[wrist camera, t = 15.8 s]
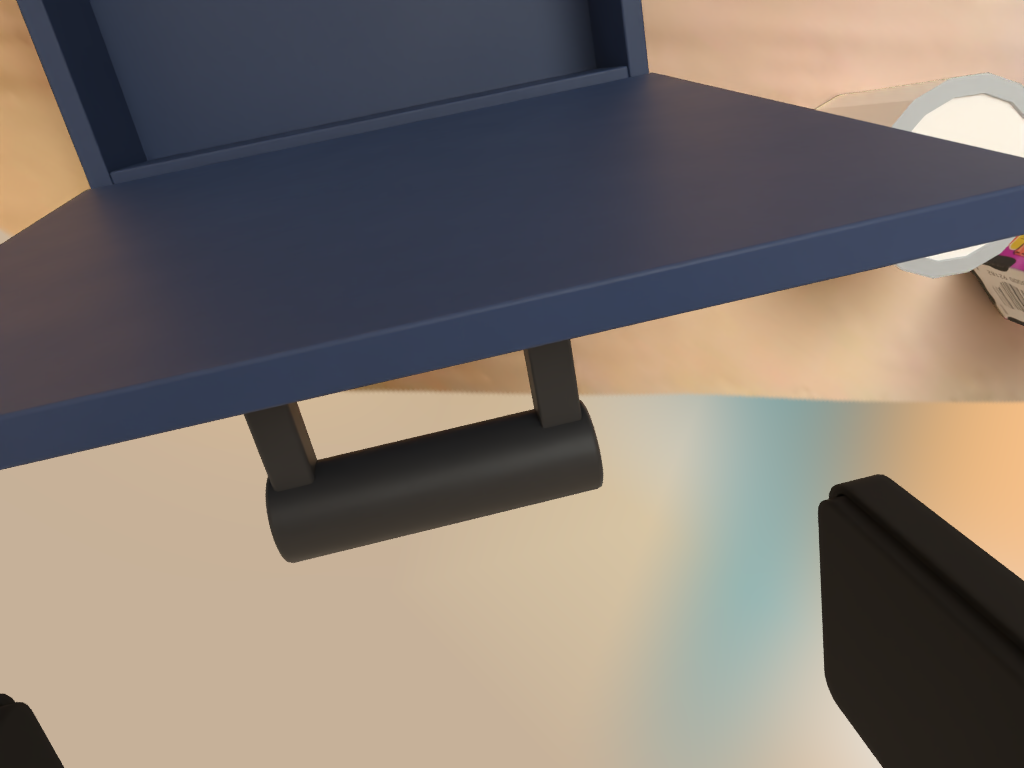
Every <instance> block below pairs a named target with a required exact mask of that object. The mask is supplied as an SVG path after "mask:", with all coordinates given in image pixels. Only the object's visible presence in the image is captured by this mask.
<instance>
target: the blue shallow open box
mask: <svg viewBox="0 0 1024 768" xmlns="http://www.w3.org/2000/svg"><path fill="white" fill-rule="evenodd" d="M16 1H17V3H18V6H19V8H20V11H21V13H22V16H23V18H24V21H25V23H26V26H27V28H28V31H29V33H30V36H31V38H32V41H33V44H34V46H35V49H36V51H37V54H38V56H39V59H40V61H41V64H42V66H43V69H44V71H45V74H46V76H47V79H48V81H49V84H50V86H51V89H52V91H53V94H54V96H55V99H56V102H57V104H58V107H59V109H60V112H61V114H62V117H63V119H64V122H65V124H66V127H67V129H68V132H69V134H70V137H71V139H72V142H73V144H74V147H75V149H76V152H77V155H78V157H79V160H80V162H81V165H82V167H83V170H84V172H85V175H86V177H87V180H88V182H89V185H90V187H91V189H93V188H98V187H103V186H108V185H113V184H118V183H122V182H127V181H132V180H137V179H142V178H147V177H151V176H156V175H161V174H166V173H171V172H176V171H180V170H185V169H190V168H195V167H200V166H204V165H209V164H214V163H219V162H224V161H229V160H233V159H238V158H243V157H248V156H253V155H258V154H262V153H267V152H272V151H277V150H282V149H287V148H291V147H296V146H301V145H306V144H311V143H316V142H320V141H325V140H330V139H335V138H340V137H345V136H349V135H354V134H359V133H364V132H369V131H373V130H378V129H383V128H388V127H393V126H398V125H402V124H407V123H412V122H417V121H422V120H427V119H431V118H436V117H441V116H446V115H451V114H456V113H460V112H465V111H470V110H475V109H480V108H485V107H489V106H494V105H499V104H504V103H509V102H514V101H518V100H523V99H528V98H533V97H538V96H542V95H547V94H552V93H557V92H562V91H567V90H571V89H576V88H581V87H586V86H591V85H596V84H600V83H605V82H610V81H615V80H620V79H625V78H629V77H634V76H639V75H644V74H649V68H648V59H647V50H646V41H645V31H644V22H643V13H642V3H641V0H16Z"/></svg>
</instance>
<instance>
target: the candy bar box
mask: <svg viewBox="0 0 1024 768" xmlns="http://www.w3.org/2000/svg"><path fill="white" fill-rule="evenodd" d="M971 272H972V273H973V274H974V275H975V276H976V277H977V279H978V281H979V282H980V284H981V285H982V287H983V288H984V290H985V291H986V293H987V294H988V296H989V298H990V299H991V301H992V303H993V304H994V305H995V307H996V308H997V309H998V310H999V312H1000V313H1001V315H1002V316H1003V317H1004V318H1006V319H1008V320H1010V321H1013V322H1015V323H1018V324H1021V325H1023V326H1024V235H1020V236H1016V237H1015V238H1014V239H1013V240H1012V242H1011V243H1010V244H1009V245H1008V246H1007V247H1006V248H1005V249H1004V250H1003V251H1002V252H1001V253H1000V254H999V255H997V256H995V257H993V258H992V259H990V260H988V261H986V262H985V263H983V264H981V265H980V266H978V267H976V268H974V269H973V270H971Z"/></svg>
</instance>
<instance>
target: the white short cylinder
mask: <svg viewBox="0 0 1024 768" xmlns="http://www.w3.org/2000/svg"><path fill="white" fill-rule="evenodd" d="M815 110H818V111H822V112H827V113H831V114H835V115H840V116H844V117H849V118H853V119H857V120H862V121H866V122H870V123H875V124H879V125H884V126H888V127H892V128H897V129H901V130H905V131H910V132H914V133H919V134H923V135H927V136H932V137H936V138H940V139H945V140H949V141H953V142H958V143H962V144H967V145H971V146H975V147H980V148H984V149H988V150H993V151H997V152H1002V153H1006V154H1010V155H1015V156H1019V157H1023V158H1024V87H1023V85H1022V84H1020V83H1017V82H1014V81H1011V80H1009V79H1006V78H1003V77H1000V76H997V75H994V74H991V73H981V74H975V75H968V76H961V77H955V78H948V79H941V80H935V81H928V82H922V83H915V84H909V85H902V86H895V87H889V88H882V89H876V90H869V91H863V92H856V93H850V94H843V95H838V96H836V97H835V98H833V99H831V100H830V101H828V102H826V103H825V104H823V105H821V106H820V107H818V108H816V109H815ZM1014 238H1015V237H1012V238H1007V239H1003V240H999V241H994V242H990V243H985V244H981V245H977V246H972V247H968V248H964V249H959V250H955V251H951V252H946V253H942V254H938V255H933V256H929V257H925V258H920V259H916V260H912V261H907V262H903V263H898V264H894V265H893V266H895V267H897V268H899V269H901V270H903V271H907V272H911V273H914V274H918V275H922V276H926V277H929V278H939V277H944V276H950V275H956V274H962V273H967V272H969V271H971V270H973V269H974V268H976V267H978V266H980V265H981V264H983V263H985V262H986V261H988V260H990V259H992V258H993V257H995V256H997V255H999V254H1000V253H1001V252H1002V251H1003V250H1004V249H1005V248H1006V247H1007V246H1008V245H1009V244H1010V243H1011V242H1012V240H1013V239H1014Z"/></svg>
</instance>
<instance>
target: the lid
mask: <svg viewBox="0 0 1024 768" xmlns="http://www.w3.org/2000/svg"><path fill="white" fill-rule="evenodd" d="M1020 235H1024V158H1023V157H1019V156H1015V155H1010V154H1006V153H1002V152H997V151H993V150H988V149H984V148H980V147H975V146H971V145H967V144H962V143H958V142H953V141H949V140H945V139H940V138H936V137H932V136H927V135H923V134H919V133H914V132H910V131H905V130H901V129H897V128H892V127H888V126H884V125H879V124H875V123H870V122H866V121H862V120H857V119H853V118H849V117H844V116H840V115H835V114H831V113H827V112H822V111H818V110H814V109H809V108H805V107H800V106H796V105H792V104H787V103H783V102H779V101H774V100H770V99H765V98H761V97H757V96H752V95H748V94H744V93H739V92H735V91H730V90H726V89H722V88H717V87H713V86H709V85H704V84H700V83H695V82H691V81H687V80H682V79H678V78H674V77H669V76H665V75H660V74H656V73H649V74H644V75H639V76H634V77H629V78H625V79H620V80H615V81H610V82H605V83H600V84H596V85H591V86H586V87H581V88H576V89H571V90H567V91H562V92H557V93H552V94H547V95H542V96H538V97H533V98H528V99H523V100H518V101H514V102H509V103H504V104H499V105H494V106H489V107H485V108H480V109H475V110H470V111H465V112H460V113H456V114H451V115H446V116H441V117H436V118H431V119H427V120H422V121H417V122H412V123H407V124H402V125H398V126H393V127H388V128H383V129H378V130H373V131H369V132H364V133H359V134H354V135H349V136H345V137H340V138H335V139H330V140H325V141H320V142H316V143H311V144H306V145H301V146H296V147H291V148H287V149H282V150H277V151H272V152H267V153H262V154H258V155H253V156H248V157H243V158H238V159H233V160H229V161H224V162H219V163H214V164H209V165H204V166H200V167H195V168H190V169H185V170H180V171H176V172H171V173H166V174H161V175H156V176H151V177H147V178H142V179H137V180H132V181H127V182H122V183H118V184H113V185H108V186H103V187H98V188H93V189H89V190H86V191H84V192H82V193H81V194H79V195H78V196H76V197H75V198H73V199H71V200H70V201H68V202H67V203H65V204H64V205H62V206H60V207H59V208H57V209H56V210H54V211H52V212H51V213H49V214H48V215H46V216H45V217H43V218H41V219H40V220H38V221H37V222H35V223H34V224H32V225H30V226H29V227H27V228H26V229H24V230H22V231H21V232H19V233H18V234H16V235H15V236H13V237H11V238H10V239H8V240H7V241H5V242H4V243H2V244H0V470H2V469H7V468H11V467H15V466H19V465H24V464H28V463H33V462H36V461H41V460H46V459H50V458H54V457H58V456H63V455H67V454H72V453H76V452H80V451H85V450H89V449H93V448H98V447H102V446H107V445H111V444H115V443H120V442H124V441H128V440H133V439H137V438H141V437H145V436H150V435H154V434H159V433H163V432H167V431H172V430H176V429H181V428H184V427H189V426H193V425H198V424H202V423H207V422H211V421H215V420H220V419H224V418H228V417H233V416H237V415H241V414H244V416H245V418H246V421H247V424H248V426H249V429H250V431H251V434H252V436H253V439H254V441H255V444H256V446H257V449H258V452H259V454H260V457H261V459H262V462H263V464H264V467H265V469H266V472H267V474H268V478H267V483H266V508H267V514H268V520H269V525H270V529H271V532H272V535H273V538H274V541H275V544H276V545H277V548H278V550H279V552H280V554H281V555H282V557H283V558H284V559H285V560H286V561H287V562H291V563H295V562H299V561H303V560H307V559H311V558H315V557H319V556H324V555H327V554H332V553H336V552H340V551H344V550H348V549H352V548H356V547H361V546H365V545H369V544H373V543H377V542H381V541H385V540H389V539H393V538H397V537H401V536H405V535H409V534H414V533H418V532H422V531H426V530H430V529H434V528H438V527H442V526H447V525H451V524H455V523H459V522H463V521H467V520H471V519H475V518H479V517H483V516H488V515H492V514H496V513H500V512H504V511H508V510H512V509H516V508H520V507H524V506H528V505H532V504H537V503H541V502H545V501H549V500H552V499H557V498H561V497H565V496H569V495H574V494H577V493H581V492H585V491H589V490H594V489H598V488H599V487H601V486H602V483H603V467H602V460H601V455H600V449H599V445H598V441H597V437H596V433H595V430H594V427H593V424H592V420H591V418H590V415H589V413H588V411H587V408H586V407H585V405H584V404H583V402H582V401H581V400H579V395H578V388H577V381H576V375H575V368H574V361H573V355H572V348H571V341H570V339H572V338H576V337H581V336H585V335H590V334H594V333H598V332H603V331H607V330H611V329H616V328H620V327H624V326H629V325H633V324H637V323H642V322H646V321H650V320H655V319H659V318H664V317H668V316H672V315H677V314H681V313H685V312H690V311H694V310H698V309H703V308H707V307H711V306H716V305H720V304H724V303H729V302H733V301H737V300H742V299H746V298H751V297H755V296H759V295H764V294H768V293H772V292H777V291H781V290H785V289H790V288H794V287H798V286H803V285H807V284H811V283H816V282H820V281H825V280H829V279H833V278H838V277H842V276H846V275H851V274H855V273H859V272H864V271H868V270H872V269H877V268H881V267H885V266H890V265H894V264H898V263H903V262H907V261H912V260H916V259H920V258H925V257H929V256H933V255H938V254H942V253H946V252H951V251H955V250H959V249H964V248H968V247H972V246H977V245H981V244H985V243H990V242H994V241H999V240H1003V239H1007V238H1012V237H1016V236H1020ZM520 350H524V355H525V361H526V366H527V372H528V377H529V382H530V388H531V393H532V399H533V404H534V409H533V410H529V411H524V412H520V413H516V414H511V415H507V416H503V417H498V418H494V419H490V420H486V421H482V422H477V423H473V424H469V425H465V426H460V427H456V428H452V429H448V430H443V431H439V432H435V433H431V434H426V435H422V436H418V437H414V438H410V439H405V440H401V441H397V442H393V443H388V444H384V445H380V446H375V447H371V448H367V449H363V450H358V451H354V452H350V453H346V454H341V455H337V456H333V457H329V458H324V459H320V460H317V458H316V455H315V453H314V450H313V447H312V444H311V441H310V438H309V436H308V433H307V430H306V427H305V424H304V421H303V419H302V416H301V413H300V410H299V407H298V404H297V401H302V400H307V399H311V398H315V397H319V396H324V395H328V394H332V393H337V392H342V391H346V390H350V389H355V388H359V387H363V386H368V385H372V384H376V383H381V382H385V381H389V380H394V379H398V378H402V377H407V376H411V375H416V374H420V373H424V372H429V371H433V370H437V369H442V368H446V367H450V366H455V365H459V364H463V363H468V362H472V361H476V360H481V359H485V358H489V357H494V356H498V355H503V354H507V353H511V352H516V351H520Z"/></svg>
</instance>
